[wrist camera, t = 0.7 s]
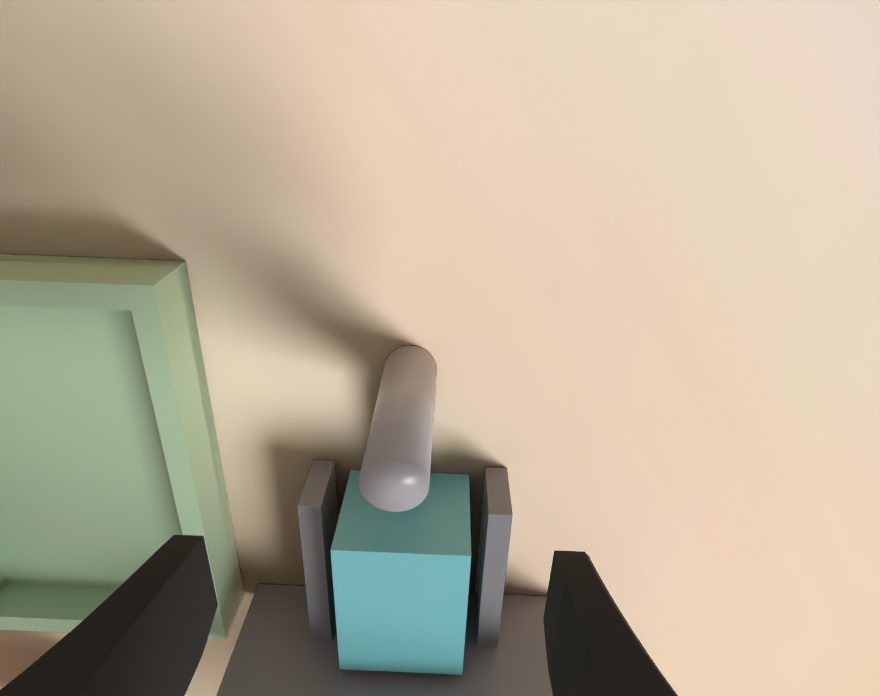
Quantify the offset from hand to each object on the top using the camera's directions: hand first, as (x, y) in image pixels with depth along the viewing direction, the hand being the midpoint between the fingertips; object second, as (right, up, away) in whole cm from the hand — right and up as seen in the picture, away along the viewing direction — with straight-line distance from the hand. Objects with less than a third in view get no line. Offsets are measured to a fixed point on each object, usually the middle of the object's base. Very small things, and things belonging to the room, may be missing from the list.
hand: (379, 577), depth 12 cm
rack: (0, -3, +11) cm, 12 cm away
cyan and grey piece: (0, 0, +10) cm, 10 cm away
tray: (-12, +1, +10) cm, 16 cm away
